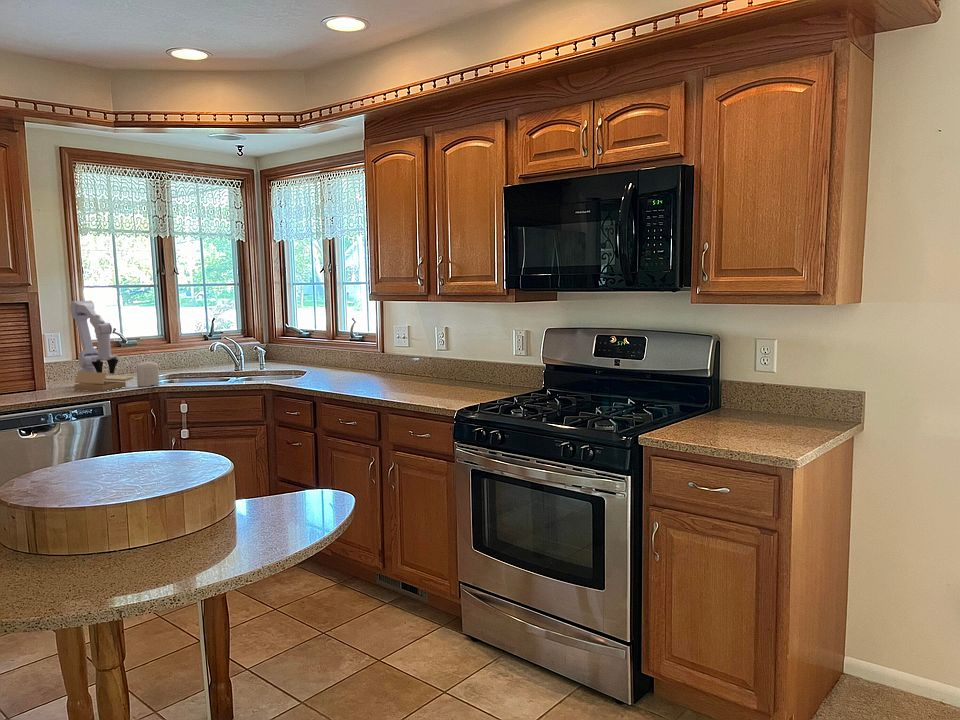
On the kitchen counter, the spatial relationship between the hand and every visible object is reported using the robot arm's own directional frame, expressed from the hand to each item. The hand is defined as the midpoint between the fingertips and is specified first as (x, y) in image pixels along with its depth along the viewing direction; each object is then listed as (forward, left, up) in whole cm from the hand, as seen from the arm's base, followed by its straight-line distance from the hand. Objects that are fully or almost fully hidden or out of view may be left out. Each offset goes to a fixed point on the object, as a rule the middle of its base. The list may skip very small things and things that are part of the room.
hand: (105, 374), depth 369 cm
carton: (0, -4, -7) cm, 8 cm away
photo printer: (+15, +12, -7) cm, 21 cm away
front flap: (0, -9, -1) cm, 9 cm away
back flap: (0, +6, -2) cm, 6 cm away
